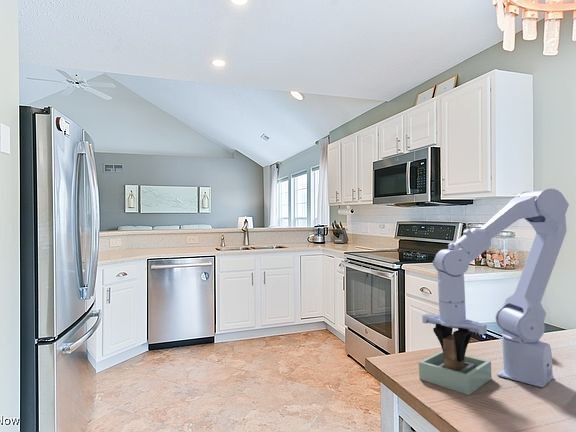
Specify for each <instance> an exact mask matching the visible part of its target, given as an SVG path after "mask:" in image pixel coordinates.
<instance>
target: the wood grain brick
mask: <svg viewBox="0 0 576 432" xmlns="http://www.w3.org/2000/svg"><path fill="white" fill-rule="evenodd" d="M443 351H444V368H447V369H450V370H454V371H457V372H458V371H460V370H461V369H463V368H465V358H464V360H463V361H461V362H459V361H457V352H456V342H455V338H454V335H453V333H452V335H449V336H447V337H445V338H443Z"/></svg>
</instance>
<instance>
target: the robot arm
mask: <svg viewBox="0 0 576 432" xmlns="http://www.w3.org/2000/svg"><path fill="white" fill-rule="evenodd" d="M569 206H570V204H569V202H568V200H567V199H566V198H565V196H564V194H563V193H562V192H561V191H559V189H556V188H546V189H540V190H533V191H532V190H531V191H528V190H527V191H522V192H520V193H518V194H517V196H515V197H513V198H511V199H510V200H509V202H508V203H507V204H506V205H505V206H504V207H503V208H502V209H500V210H499V211H498V212H497V213H496V214H495V215H493V216H492V217H491V218H490V219H489V220H488V221H487V222H486V223H485V224H484V225H482V226H481V227H479V228H477V227H472V228H470V229H468V228H467V229H465V230H464V231H463V232H462V233H463V234H462V236H460V237H459V238H458V239H457V240H455V241H454V242H450V243H448V244H447V246H448V247H447V248H444V249H440V250H439V251H438V252H437V253H436V254H435V256H434V260H432V266H433V267H434V268H435V270H436V271H437V289H438V290H437V291H438V311H439V314H430V313H425V314H422V324H429V325H430V324H432V325H435V327H433V330H432V331H433V333H434V335H435V336H436V338H437V340H438V342H439V344H440V346H441V347H440V348H441V351H442V350H443V338H445V337H447V336H449V335H452V334H453V335H454V338H455V342H456V352H457V361H459V362H461V361H463V360H464V358H465V355H466V353H467V348H468V345H469V342H470V341H471V338H472V336H473V335H474V333H476V334H477V333H478V335H483V336H484V335H485V334H487V333H488V331H487V329H488V328H487V324H486V323H482V322H478V321H475V320H471V319H467V314H466V310H467V309H466V293H465V292H466V290H465V289H466V288H465V273H467V271H468V270H469V265H470V263H472V262H473V261H474V260H475V259H477V258H478V257H479V256H480V255H482V253H484V252H486V250H488V249H489V248H490V247H492V239H493V238H495V237H496V236H497V235H499V234H500V233H502V232H503V231H504V230H506V229H507V228H509V227H510V226H511V225H512V224H515V222H517V221H518V220H522V219H524V220H525V221H527V222H528V223H529V224H530V225H531V226H532V228H533V229H534V231H535V237H534V239H533V241H532V243H531V244H532V245H531V247H530V250H529V252H528V255H527V257H526V260H525V262H524V263H525V264H524V266H523V269H522V271H521V275H520V277H519V280H518V283H517V285H516V288H515V292H513V294H512V295H510V296H508V297H507V298H505V301H504V303H503V305H501V306H500V308H498V310H497V311H496V314H495V323H496V324H497V326H498V327H499V328H500V329H501V336H502V337H501V339H502V361H503V369H501V370H499V372H497V373H496V376H498V377H502V378H506V379H509V380H513V381H515V382H516V381H518V382H520V383H524V384H528V385H532V386H535V387H539V388H544V387H545V386H546V385H547V384H549V383H550V381H552V379H554V378H555V375H553V374H554V373H553V356H552V354H553V352H552V347H551V345H550V344H549V343H547V342H545V341H542V340H540V339H541V338H542V337H543V336H544V334H545V331H546V330H545V329H546V327H545V319H546V316H547V313H546V311H545V310H546V309H544V307H543V304H542V301H543V297H544V295H545V292H546V289H547V286H548V283H549V281H550V278H551V275H552V272H553V269H554V267H555V265H556V262H557V259H558V256H559V253H560V252H561V251H560V250H561V248H562V246H563V242H564V240H565V238H566V237H565V236H566V234H567V219H566V217H567V216H566V214H567V211H568V209H569ZM453 329H456V330H454V331H453ZM443 353H444V351H443Z"/></svg>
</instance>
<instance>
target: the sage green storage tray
mask: <svg viewBox="0 0 576 432" xmlns="http://www.w3.org/2000/svg"><path fill="white" fill-rule="evenodd" d="M418 372H419V373H418V374H419V375H418V376H419V380H421V381H424V382H428V383H431V384H434V385H437V386H439V387H442V388H446V389H449V390H452V391H455V392H459V393H462V394H465V395H468V396H470V395H471V394H472V393H474V392H475V391H477V390H478V389H479V388H481V387H482V386H484V385H485V384H486V383H488V382H489V381H491V380H492V377H493V376H492V360H491V361H490V360H486V359H482V358H478V357H474V356H469V355H466V354H465V368H463V369H461V370H460V371H458V372H457V371H454V370H450V369H447V368H444V353H443V350H442V349H441V350H439V351H438V352H436V353H433V354H432V355H430V356H428V357H425V358H424V359H422V360H420V361H418Z"/></svg>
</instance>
